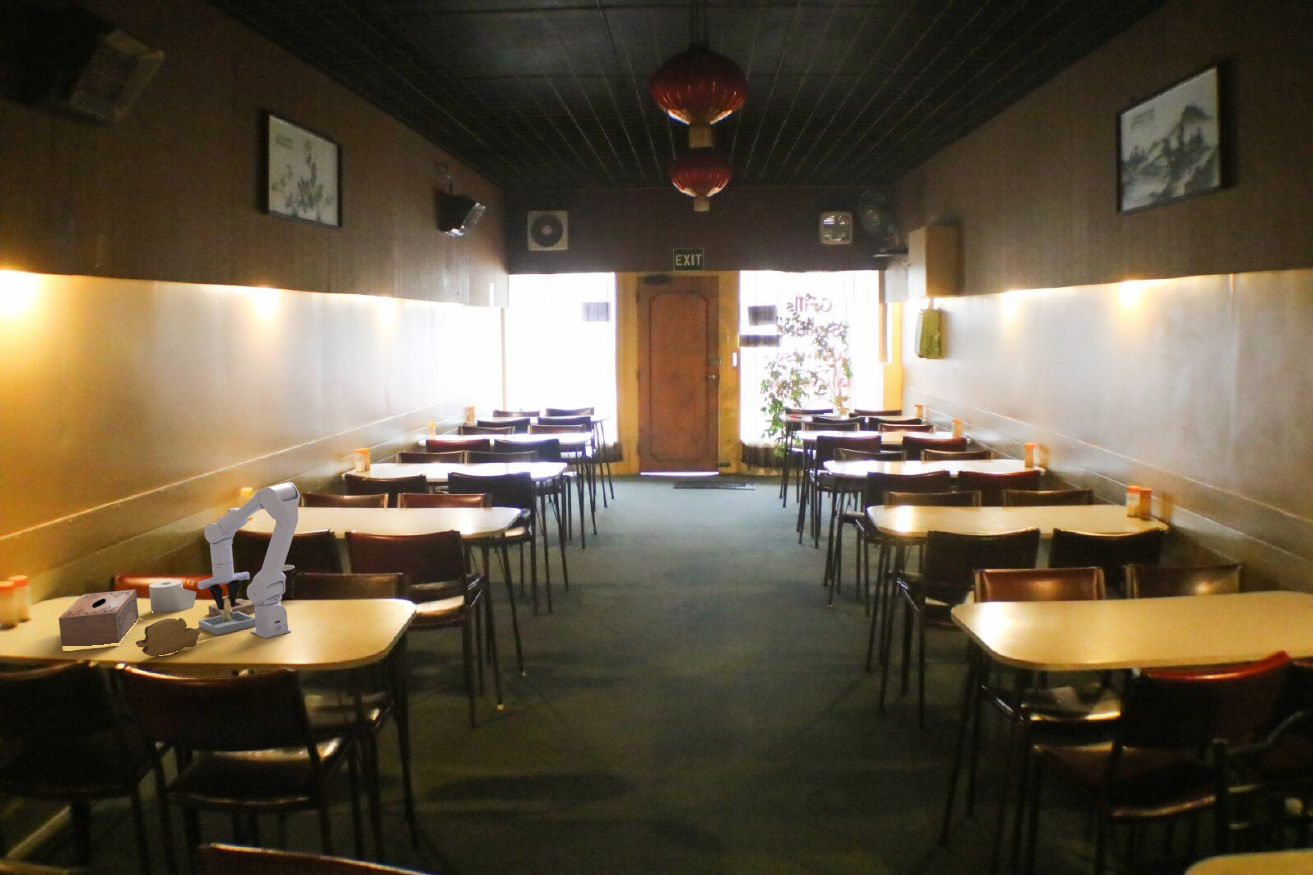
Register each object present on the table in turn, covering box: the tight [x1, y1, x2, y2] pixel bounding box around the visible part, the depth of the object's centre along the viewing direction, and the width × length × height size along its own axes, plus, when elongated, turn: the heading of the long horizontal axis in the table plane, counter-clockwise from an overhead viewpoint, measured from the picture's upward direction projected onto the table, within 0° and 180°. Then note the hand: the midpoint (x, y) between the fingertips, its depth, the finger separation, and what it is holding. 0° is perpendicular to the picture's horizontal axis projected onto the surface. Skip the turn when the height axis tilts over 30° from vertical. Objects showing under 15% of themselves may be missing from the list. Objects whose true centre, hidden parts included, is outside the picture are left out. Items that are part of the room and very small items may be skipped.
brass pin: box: [221, 595, 233, 622], centre depth 309 cm, size 3×3×7 cm
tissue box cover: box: [58, 589, 140, 647], centre depth 306 cm, size 26×14×10 cm, turn 15°
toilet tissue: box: [148, 579, 197, 614], centre depth 331 cm, size 9×13×9 cm
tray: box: [198, 611, 256, 637], centre depth 309 cm, size 12×12×2 cm
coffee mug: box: [281, 564, 307, 601], centre depth 338 cm, size 12×9×10 cm
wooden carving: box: [135, 617, 201, 657], centre depth 286 cm, size 16×5×10 cm, turn 139°
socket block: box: [207, 598, 255, 617], centre depth 323 cm, size 10×10×3 cm
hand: (226, 607), depth 309 cm, fingers closed on brass pin, 3 cm apart
